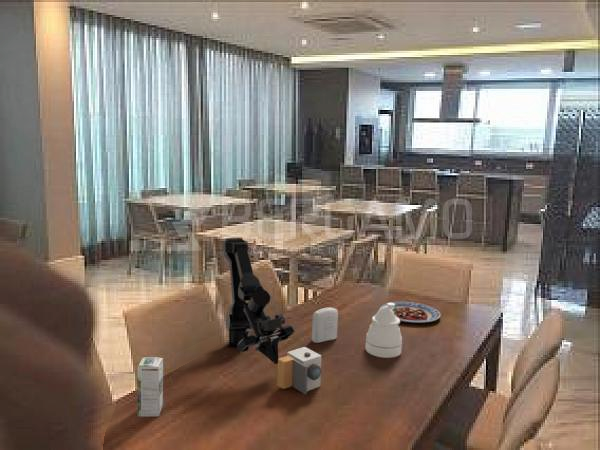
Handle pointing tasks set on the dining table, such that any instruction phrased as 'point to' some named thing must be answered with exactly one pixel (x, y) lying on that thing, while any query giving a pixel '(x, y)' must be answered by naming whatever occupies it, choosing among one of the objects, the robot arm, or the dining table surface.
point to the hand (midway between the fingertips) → (277, 363)
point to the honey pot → (384, 334)
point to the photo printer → (324, 325)
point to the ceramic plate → (414, 312)
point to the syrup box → (150, 386)
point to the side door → (292, 374)
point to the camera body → (309, 365)
